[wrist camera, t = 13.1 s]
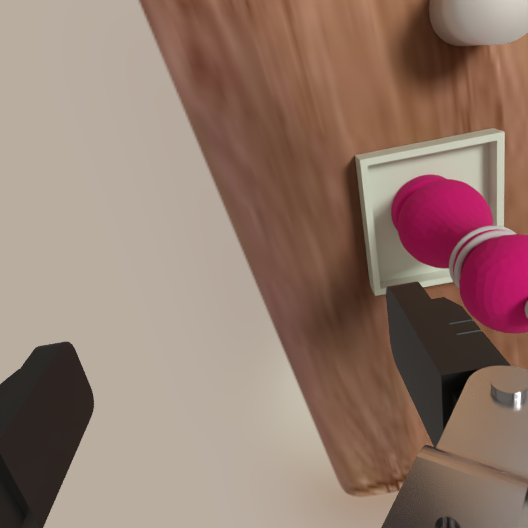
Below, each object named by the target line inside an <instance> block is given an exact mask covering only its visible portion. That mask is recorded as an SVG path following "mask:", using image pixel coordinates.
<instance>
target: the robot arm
mask: <svg viewBox="0 0 528 528" xmlns="http://www.w3.org/2000/svg"><path fill="white" fill-rule="evenodd" d="M386 300H387V311H388V322H389V334H390V343H391V349H392V353H393V357H394V360H395V363H396V366H397V368H398V370H399V372H400V374H401V377H402V379H403V381H404V383H405V385H406V387H407V390H408V392H409V394H410V396H411V398H412V400H413V402H414V405H415V407H416V409H417V411H418V413H419V415H420V418H421V420H422V422H423V424H424V426H425V428H426V430H427V433H428V435H429V437H430V439H431V441H432V443H433V446H434V447H432V446H429V445H425V446H424V447H423V448H422V449H421V450H420V451H419V453H418V455H417V457H416V459H415V461H414V463H413V465H412V467H411V469H410V471H409V473H408V475H407V477H406V479H405V481H404V483H403V485H402V487H401V489H400V491H399V493H398V495H397V497H396V500H395V501H394V503H393V505H392V507H391V509H390V511H389V513H388V515H387V518H386V519H385V521H384V523H383V525H382V528H528V370H525V369H522V368H518V367H512V366H510V364H509V363H508V362H507V361H506V359H505V358H504V357H503V356H502V355H501V353H500V352H499V351H498V350H497V349H496V347H495V346H494V345H493V344H492V343H491V341H490V340H489V339H488V338H487V337H486V335H485V334H484V333H483V332H481V331H480V328H479V327H478V326H477V324H476V323H475V322H474V321H472V318H471V317H470V316H469V315H468V314H467V312H466V311H465V310H464V309H463V307H462V306H460V305H458V304H456V303H454V302H452V301H450V300H448V299H447V298H445V297H442V298H436V299H431V298H430V297H429V295H428V294H427V293H426V291H425V290H424V289H423V287H422V286H421V284H420V283H419V282H417V281H416V282H411V283H405V284H399V285H393V286H388V287H387V288H386ZM93 408H94V399H93V393H92V389H91V387H90V385H89V382H88V380H87V377H86V375H85V372H84V370H83V367H82V365H81V363H80V360H79V358H78V355H77V353H76V351H75V348H74V347H73V345H72V344H71V343H69V342H61V343H55V344H49V345H44V346H38V347H36V348H35V349H34V350H33V352H32V353H31V355H30V356H29V358H28V359H27V360H26V361H25V363H24V364H23V366H22V367H21V369H19V370H17V371H16V372H15V373H13V374H12V375H11V376H10V377H9V378H7V379H6V380H5V381H4V382H3V383H1V384H0V528H43V526H44V524H45V522H46V519H47V517H48V515H49V513H50V510H51V508H52V505H53V503H54V501H55V499H56V496H57V494H58V492H59V489H60V487H61V485H62V483H63V480H64V478H65V476H66V473H67V471H68V469H69V467H70V464H71V462H72V460H73V457H74V455H75V453H76V451H77V448H78V446H79V443H80V441H81V439H82V437H83V434H84V432H85V430H86V428H87V425H88V423H89V420H90V418H91V416H92V413H93Z"/></svg>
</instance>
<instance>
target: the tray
mask: <svg viewBox="0 0 528 528" xmlns="http://www.w3.org/2000/svg"><path fill="white" fill-rule="evenodd" d="M504 141H505V132H504V131H501V130H497V129H494V128H491V129H486V130H481V131H476V132H471V133H466V134H461V135H456V136H450V137H445V138H440V139H435V140H430V141H425V142H420V143H415V144H410V145H405V146H400V147H395V148H390V149H384V150H379V151H374V152H369V153H364V154H359V155H355V161H356V169H357V178H358V187H359V195H360V204H361V213H362V221H363V230H364V239H365V247H366V256H367V265H368V273H369V282H370V287H371V289H372V291H373V293H374V295H375V296H377V295H383V294H386V288H387V287H388V286H393V285H399V284H405V283H411V282H416V281H417V282H419V283H420V284H421V286H422V287H427V286H433V285H438V284H444V283H449V282H453V280H452V279H451V276H450V272H449V268H445V269H442V268H435V267H432V266H429V265H426V264H423V263H421V262H419V261H418V260H416V259H415V258H414V257H413V256H412V255H410V254H409V253H408V252H407V250H406V249H405V248H404V247H403V245H402V243H401V241H400V238H399V235H398V231H397V229H396V228H395V226H394V224H393V221H392V216H391V208H392V204H393V200H394V198H395V196H396V194H397V193H398V191H399V190H400V189H401V188H402V186H403V185H405V184H406V183H407V182H409V181H410V180H412V179H414V178H416V177H418V176H422V175H429V174H433V175H439V176H442V177H444V178H446V179H453V180H458V181H462V182H464V183H467V184H469V185H470V186H471V187H473V188H474V189H476V190H477V191H478V192H479V193H480V194H481V195H482V196H483V198H484V199H485V200H486V202H487V204H488V206H489V208H490V210H491V212H492V217H493V225H494V226H502V227H504Z"/></svg>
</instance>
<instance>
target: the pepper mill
mask: <svg viewBox="0 0 528 528" xmlns="http://www.w3.org/2000/svg"><path fill="white" fill-rule="evenodd" d="M391 216H392V221H393V224H394V226H395V228H396V229H397V231H398V235H399V238H400V241H401V243H402V245H403V247H404V248H405V249H406V250H407V252H408V253H409V254H410V255H412V256H413V257H414V258H415V259H416V260H418V261H419V262H421V263H423V264H426V265H429V266H432V267H435V268H442V269H445V268H449V272H450V276H451V279H452V280H453V282H454V283H455V285H456V286H457V287H458V288H459V289H460V295H461V298H462V301H463V303H464V305H465V307H466V308H467V310H468V311H469V312H470V314H471V315H472V316H473V317H474V318H476V319H477V320H478V321H479V322H481V323H482V324H483V325H485V326H487V327H489V328H491V329H493V330H496V331H500V332H504V333H525V332H528V236H527V235H520V234H516V233H515V232H513V231H512V230H510V229H508V228H505V227H502V226H494V225H493V217H492V212H491V210H490V208H489V206H488V204H487V202H486V200H485V199H484V198H483V196H482V195H481V194H480V193H479V192H478V191H477V190H476V189H474V188H473V187H471V186H470V185H469V184H467V183H464V182H462V181H458V180H453V179H446V178H444V177H442V176H439V175H433V174H429V175H422V176H418V177H416V178H414V179H412V180H410V181H409V182H407V183H406V184H405V185H403V186H402V188H401V189H400V190H399V191H398V193H397V194H396V196H395V198H394V200H393V204H392V208H391Z"/></svg>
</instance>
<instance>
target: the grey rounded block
mask: <svg viewBox="0 0 528 528" xmlns="http://www.w3.org/2000/svg"><path fill="white" fill-rule="evenodd" d="M429 17H430V22H431V25H432V27H433V29H434V31H435V33H436V34H437V35H438V37H440V38H441V39H442V40H443V41H445V42H446V43H448V44H451V45H454V46H475V45H496V44H505V43H509V42H512V41H515V40H517V39H519V38H520V37H522V36H524V35H525V34H526V33H527V32H528V0H430V2H429Z"/></svg>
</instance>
